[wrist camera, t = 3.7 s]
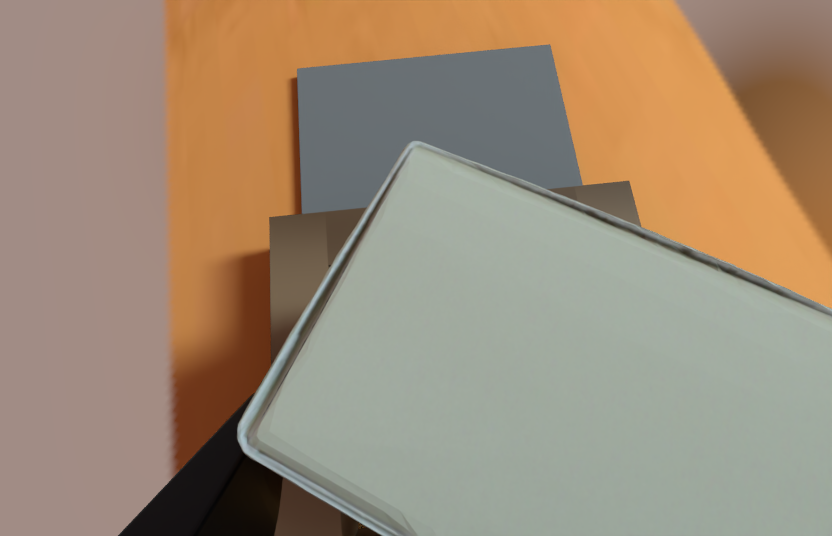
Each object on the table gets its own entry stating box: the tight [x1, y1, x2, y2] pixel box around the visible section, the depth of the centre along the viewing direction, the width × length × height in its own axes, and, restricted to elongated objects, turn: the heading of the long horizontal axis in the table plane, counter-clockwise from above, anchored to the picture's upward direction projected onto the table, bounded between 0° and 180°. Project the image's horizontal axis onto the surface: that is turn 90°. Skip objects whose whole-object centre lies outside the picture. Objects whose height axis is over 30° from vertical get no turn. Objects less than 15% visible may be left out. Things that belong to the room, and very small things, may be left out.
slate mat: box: [297, 45, 583, 214], centre depth 19 cm, size 8×12×1 cm, turn 96°
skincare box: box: [237, 141, 832, 536], centre depth 10 cm, size 6×4×12 cm
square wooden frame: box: [269, 181, 641, 536], centre depth 15 cm, size 13×13×3 cm
